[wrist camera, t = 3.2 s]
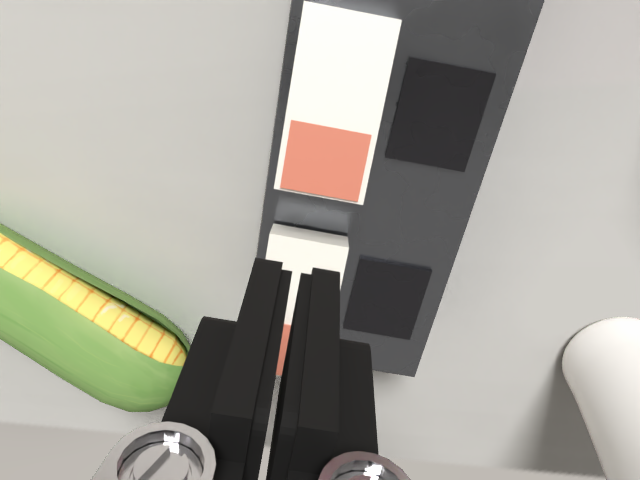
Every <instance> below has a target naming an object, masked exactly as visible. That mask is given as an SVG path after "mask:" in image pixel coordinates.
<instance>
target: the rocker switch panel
mask: <svg viewBox="0 0 640 480" xmlns="http://www.w3.org/2000/svg"><path fill="white" fill-rule="evenodd" d="M304 1H308V2H313V3H318V4H323V5H328V6H333V7H339V8H344V9H349V10H354V11H359V12H364V13H369V14H374V15H379V16H384V17H389V18H395V19H400V20H402V22H401V27H400V32H399V36H398V41H397V46H396V51H395V55H394V60H393V65H392V70H391V74H390V79H389V84H388V89H387V93H386V98H385V103H384V108H383V112H382V117H381V122H380V127H379V131H378V136H377V141H376V146H375V150H374V155H373V160H372V165H371V169H370V174H369V179H368V184H367V188H366V193H365V198H364V203H363V205H360V204H354V203H349V202H343V201H338V200H332V199H327V198H322V197H316V196H311V195H305V194H300V193H294V192H289V191H283V190H278V189H274V184H275V178H276V172H277V165H278V159H279V153H280V147H281V140H282V134H283V128H284V122H285V116H286V109H287V103H288V97H289V91H290V84H291V78H292V72H293V66H294V59H295V53H296V47H297V41H298V35H299V28H300V22H301V16H302V10H303V3H304ZM543 3H544V0H291V7H290V14H289V22H288V29H287V36H286V44H285V51H284V58H283V65H282V73H281V80H280V87H279V95H278V102H277V109H276V116H275V124H274V131H273V138H272V146H271V153H270V160H269V167H268V175H267V182H266V189H265V197H264V204H263V211H262V218H261V226H260V233H259V240H258V248H257V255H256V258H262V259H266V252H267V246H268V240H269V234H270V231H271V229H272V226H273V223H274V224H280V225H285V226H291V227H296V228H302V229H308V230H313V231H319V232H324V233H330V234H335V235H341V236H346V237H348V243H349V251H348V256H347V260H346V265H345V270H344V275H343V280H342V284H341V289H340V339H345V340H351V341H357V342H363V343H369V345H370V348H371V359H372V370H376V371H382V372H388V373H394V374H399V375H405V376H411V377H415V374H416V371H417V368H418V365H419V362H420V359H421V356H422V353H423V350H424V348H425V345H426V342H427V339H428V336H429V333H430V330H431V327H432V324H433V322H434V319H435V316H436V313H437V310H438V307H439V304H440V301H441V298H442V295H443V293H444V290H445V287H446V284H447V281H448V278H449V275H450V272H451V269H452V267H453V264H454V261H455V258H456V255H457V252H458V249H459V246H460V243H461V240H462V238H463V235H464V232H465V229H466V226H467V223H468V220H469V217H470V214H471V211H472V209H473V206H474V203H475V200H476V197H477V194H478V191H479V188H480V185H481V183H482V180H483V177H484V174H485V171H486V168H487V165H488V162H489V159H490V156H491V154H492V151H493V148H494V145H495V142H496V139H497V136H498V133H499V130H500V127H501V125H502V122H503V119H504V116H505V113H506V110H507V107H508V104H509V101H510V99H511V96H512V93H513V90H514V87H515V84H516V81H517V78H518V75H519V72H520V70H521V67H522V64H523V61H524V58H525V55H526V52H527V49H528V46H529V44H530V41H531V38H532V35H533V32H534V29H535V26H536V23H537V20H538V17H539V15H540V12H541V9H542V6H543Z"/></svg>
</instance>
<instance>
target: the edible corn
mask: <svg viewBox="0 0 640 480" xmlns="http://www.w3.org/2000/svg"><path fill="white" fill-rule="evenodd" d="M0 339H1V340H3V341H4V342H6V343H7V344H9V345H10V346H12V347H14V348H15V349H17V350H18V351H20V352H21V353H23V354H24V355H26V356H28V357H29V358H31V359H32V360H34V361H35V362H37V363H38V364H40V365H42V366H43V367H45V368H46V369H48V370H49V371H51V372H52V373H54V374H56V375H57V376H59V377H60V378H62V379H63V380H65V381H67V382H68V383H70V384H72V385H74V386H75V387H77V388H79V389H80V390H82V391H84V392H85V393H87V394H89V395H90V396H92V397H94V398H95V399H97V400H99V401H100V402H103V403H105V404H108V405H111V406H114V407H117V408H120V409H123V410H125V411H128V412H150V411H153V410H156V409H159V408H162V407H165V406H167V405H168V403H169V401H170V398H171V396H172V393H173V391H174V388H175V385H176V383H177V380H178V378H179V375H180V373H181V370H182V367H183V365H184V362H185V360H186V357H187V355H188V352H189V350H190V345H189V343H188V342H187V340H186V338H185V336H184V335H183V333H182V331H181V330H179V329H178V328H177V327H176V326H175V325H174V324H173V323H172V322H170V321H169V320H168V319H167V318H166V317H165V316H164V315H162V314H160V313H159V312H157V311H155V310H154V309H152V308H150V307H149V306H147V305H145V304H143V303H142V302H140V301H138V300H137V299H135V298H133V297H132V296H130V295H128V294H126V293H124V292H122V291H121V290H119V289H117V288H115V287H113V286H111V285H109V284H108V283H106V282H104V281H102V280H100V279H98V278H96V277H95V276H93V275H91V274H89V273H87V272H85V271H83V270H82V269H80V268H78V267H76V266H74V265H73V264H71V263H69V262H67V261H65V260H64V259H62V258H60V257H58V256H57V255H55V254H53V253H51V252H50V251H48V250H46V249H44V248H42V247H41V246H39V245H37V244H35V243H34V242H32V241H30V240H28V239H26V238H25V237H23V236H21V235H19V234H18V233H16V232H14V231H12V230H11V229H9V228H7V227H5V226H3V225H2V224H0Z"/></svg>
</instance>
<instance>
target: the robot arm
mask: <svg viewBox="0 0 640 480" xmlns="http://www.w3.org/2000/svg"><path fill="white" fill-rule="evenodd" d="M282 265H283V262H279V261H273V260H267V259H262V258H255V261H254V265H253V268H252V272H251V275H250V278H249V282H248V285H247V289H246V292H245V296H244V299H243V303H242V306H241V310H240V313H239V317H238V320H237V322H235V321H229V320H223V319H217V318H211V317H205V316H204V317H203V318H202V319H201V322H200V324H199V326H198V329H197V332H196V334H195V337H194V339H193V342H192V344H191V347H190V350H189V352H188V355H187V357H186V360H185V362H184V365H183V367H182V370H181V373H180V375H179V378H178V380H177V383H176V385H175V388H174V391H173V393H172V396H171V398H170V401H169V403H168V406H167V409H166V411H165V414H164V416H163V419H162V421H161V422H157V423H150V424H148V425H145V426H142V427H139V428H136V429H134V430H133V431H131V432H130V433H128V434H127V435H125V436H123V437H122V438H121V439H120V440H119V441H118V443H117V444H116V445H115V446H114V447H113V448H112V449H111V451H110V452H109V453H108V455H107V456H106V458H105V459H104V461H103V463H102V464H101V466H100V467H99V468H98V470H97V471H96V473H95V474H94V476H93V477H92V479H91V480H258V475H259V470H260V464H261V459H262V453H263V448H264V442H265V437H266V431H267V426H268V420H269V414H270V408H271V402H272V395H273V389H274V383H275V377H276V370H277V364H278V358H279V352H280V345H281V339H282V333H283V327H284V320H285V314H286V308H287V302H288V295H289V289H290V283H291V277H292V271H289V270H283V269H282ZM266 480H410V478H409V477H408V476H407V475H406V474H405V473H404V471H403V470H402V469H401V468H400V467H398V466H397V465H396V464H394V463H393V462H392V461H390V460H389V459H387V458H384V457H382V456H380V455H378V444H377V429H376V415H375V401H374V387H373V373H372V359H371V348H370V345H369V343H363V342H357V341H351V340H345V339H340V272H338V271H332V270H326V269H320V268H314V267H313V269H312V273H311V274H306V273H301V275H300V280H299V286H298V291H297V296H296V302H295V307H294V312H293V317H292V323H291V328H290V333H289V339H288V344H287V349H286V355H285V360H284V365H283V371H282V376H281V382H280V388H279V394H278V401H277V408H276V415H275V422H274V428H273V435H272V442H271V449H270V456H269V463H268V469H267V476H266Z"/></svg>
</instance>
